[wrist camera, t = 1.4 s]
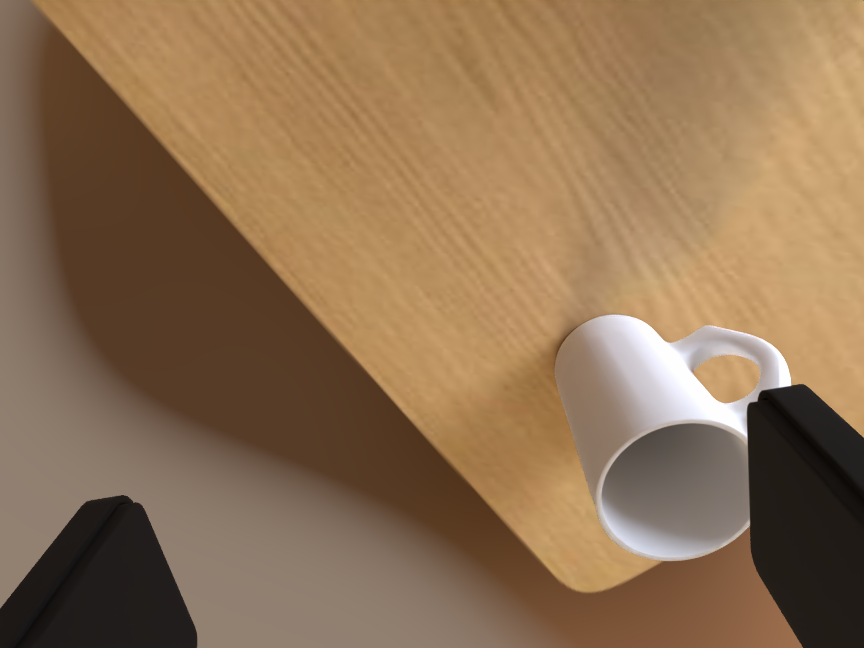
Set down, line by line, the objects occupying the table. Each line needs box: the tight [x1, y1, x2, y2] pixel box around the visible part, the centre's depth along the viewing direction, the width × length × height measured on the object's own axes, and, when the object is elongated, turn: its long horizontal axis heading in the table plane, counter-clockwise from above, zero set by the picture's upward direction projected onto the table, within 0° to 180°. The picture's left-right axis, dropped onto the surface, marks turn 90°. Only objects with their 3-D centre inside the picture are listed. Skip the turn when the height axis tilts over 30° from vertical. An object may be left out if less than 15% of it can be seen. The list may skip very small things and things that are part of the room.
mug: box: [555, 315, 791, 561], centre depth 32 cm, size 10×7×12 cm, turn 128°
